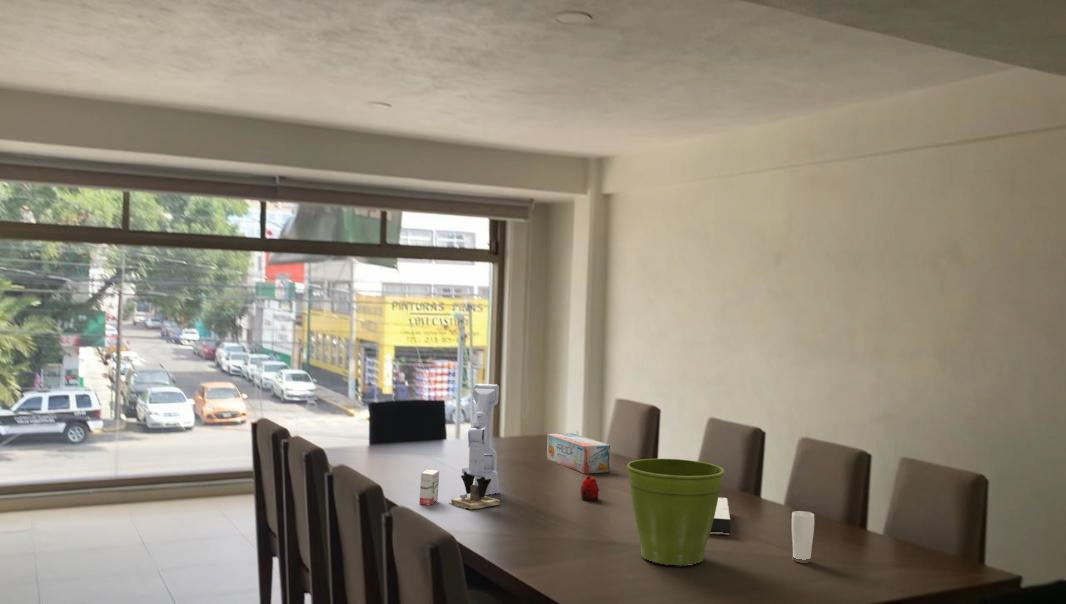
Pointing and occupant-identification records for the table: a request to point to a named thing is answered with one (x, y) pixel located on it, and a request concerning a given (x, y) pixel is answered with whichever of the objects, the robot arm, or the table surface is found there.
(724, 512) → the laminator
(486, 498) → the panel
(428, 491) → the ink box
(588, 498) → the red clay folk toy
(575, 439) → the soda box
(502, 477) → the table surface
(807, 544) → the drinking glass
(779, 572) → the table surface
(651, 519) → the plant pot
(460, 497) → the boss plate
